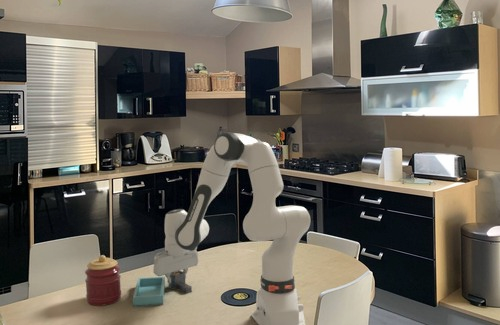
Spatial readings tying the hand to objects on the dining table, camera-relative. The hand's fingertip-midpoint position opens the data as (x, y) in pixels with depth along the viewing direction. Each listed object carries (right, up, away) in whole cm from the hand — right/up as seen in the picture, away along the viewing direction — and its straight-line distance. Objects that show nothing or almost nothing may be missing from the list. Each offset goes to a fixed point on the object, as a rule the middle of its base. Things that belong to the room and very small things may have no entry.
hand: (176, 280), depth 189 cm
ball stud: (0, -3, 0) cm, 3 cm away
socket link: (+2, -3, -2) cm, 4 cm away
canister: (-27, -4, -12) cm, 29 cm away
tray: (-9, -4, -8) cm, 13 cm away
